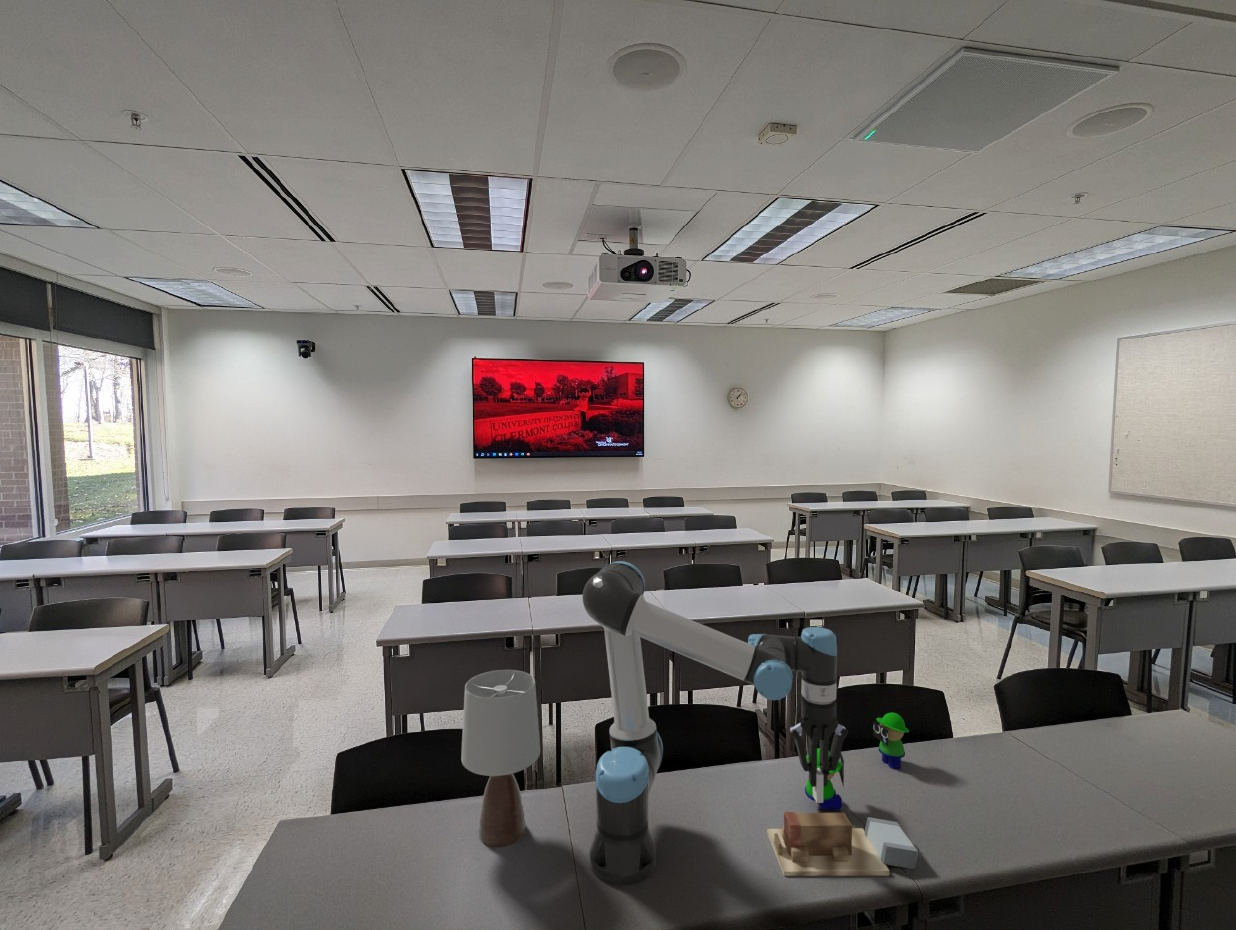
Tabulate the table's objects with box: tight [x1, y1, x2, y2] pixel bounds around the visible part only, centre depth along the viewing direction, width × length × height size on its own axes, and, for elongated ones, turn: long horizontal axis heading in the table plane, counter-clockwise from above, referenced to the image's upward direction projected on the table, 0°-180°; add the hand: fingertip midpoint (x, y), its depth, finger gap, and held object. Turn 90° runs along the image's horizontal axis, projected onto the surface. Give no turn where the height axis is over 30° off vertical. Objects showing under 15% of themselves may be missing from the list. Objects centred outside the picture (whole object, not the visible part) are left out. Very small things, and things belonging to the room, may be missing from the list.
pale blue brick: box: [864, 816, 919, 870], centre depth 136 cm, size 4×10×7 cm
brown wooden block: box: [783, 811, 853, 856], centre depth 136 cm, size 14×5×7 cm, turn 90°
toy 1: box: [804, 747, 845, 811], centre depth 154 cm, size 11×9×15 cm
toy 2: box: [872, 712, 910, 770], centre depth 173 cm, size 9×9×15 cm
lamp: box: [460, 669, 541, 848], centre depth 143 cm, size 19×19×37 cm
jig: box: [767, 825, 890, 877], centre depth 136 cm, size 23×14×4 cm, turn 90°
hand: (817, 799), depth 135 cm, fingers closed
